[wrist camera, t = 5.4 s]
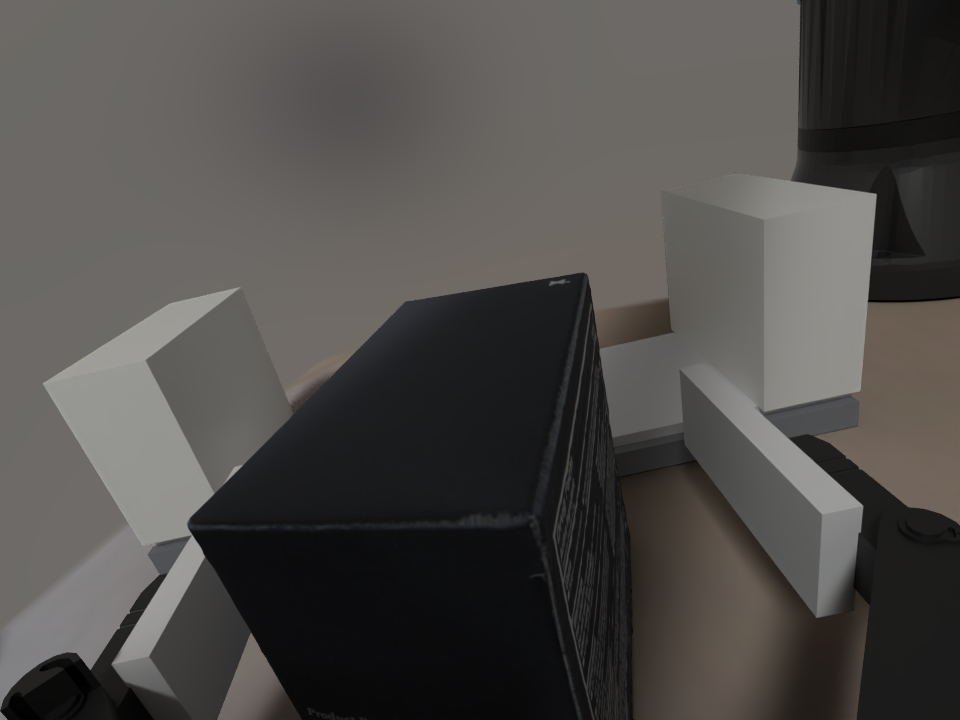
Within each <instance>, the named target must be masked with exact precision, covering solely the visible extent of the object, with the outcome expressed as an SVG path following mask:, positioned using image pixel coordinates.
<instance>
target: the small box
mask: <svg viewBox="0 0 960 720" xmlns="http://www.w3.org/2000/svg"><path fill="white" fill-rule="evenodd" d="M187 526H188V529H189V531H190V532H191V534H192V535H193V537H194V539H195V540H196V542H197V543H198V544H199V546H200V547H201V549H202V551H203V554H204V556H205V557H206V559H207V560H208V561H209V563H210V564H211V566H212V567H213V568H214V570H215V572H216V573H217V575H218V577H219V578H220V580H221V582H222V584H223V585H224V587H225V589H226V590H227V592H228V594H229V596H230V597H231V599H232V601H233V603H234V605H235V606H236V608H237V610H238V611H239V613H240V615H241V616H242V618H243V620H244V621H245V623H246V624H247V626H248V628H249V629H250V631H251V633H252V635H253V636H254V638H255V640H256V641H257V643H258V645H259V647H260V649H261V651H262V653H263V654H264V655H265V657H266V658H267V661H268V662H269V664H270V666H271V667H272V669H273V671H274V672H275V674H276V676H277V678H278V679H279V681H280V683H281V685H282V686H283V688H284V690H285V691H286V693H287V695H288V697H289V698H290V700H291V702H292V703H293V705H294V707H295V708H296V710H297V712H298V714H299V715H300V717H301V719H302V720H632V713H631V710H632V703H631V695H632V686H631V636H632V632H633V630H632V622H631V617H632V612H631V591H632V590H631V573H630V534H629V528H628V525H627V519H626V512H625V506H624V502H623V497H622V492H621V486H620V480H619V476H618V470H617V462H616V458H615V452H614V445H613V439H612V432H611V427H610V422H609V408H608V402H607V396H606V389H605V383H604V378H603V370H602V364H601V357H600V349H599V343H598V338H597V330H596V323H595V315H594V310H593V303H592V297H591V289H590V285H589V280H588V275H587V274H585V273H577V274H572V275H566V276H560V277H554V278H548V279H542V280H535V281H529V282H523V283H517V284H511V285H506V286H499V287H493V288H487V289H481V290H475V291H469V292H462V293H457V294H451V295H445V296H439V297H432V298H426V299H421V300H414V301H407V302H405V303H404V304H403V305H402V306H401V307H400V308H399V309H398V310H397V311H396V312H395V313H394V314H393V315H392V316H391V317H390V318H389V319H388V320H387V321H386V322H385V323H384V324H383V325H382V326H381V327H380V328H379V329H378V330H377V331H376V332H375V333H374V334H373V335H372V336H371V337H370V338H369V339H368V340H367V341H366V342H365V343H364V344H363V345H362V346H361V347H360V348H359V349H358V350H357V351H356V352H355V353H354V354H353V355H352V356H351V357H350V358H349V359H348V360H347V361H346V362H345V363H344V364H343V365H342V366H341V367H340V368H339V369H338V370H337V371H336V372H335V373H334V374H333V376H332V377H331V378H330V379H329V380H328V381H327V382H326V383H325V384H324V385H323V386H321V387H320V388H319V389H318V390H317V391H316V392H315V393H314V394H313V395H312V396H311V397H310V398H309V399H308V400H307V401H306V402H305V403H304V404H303V405H302V406H301V407H300V408H299V409H298V411H297V412H296V413H295V414H294V415H293V416H292V417H291V418H290V419H289V420H288V421H287V422H286V423H284V424H283V425H282V426H281V427H280V428H279V429H278V430H277V431H276V432H275V433H274V434H273V435H272V436H271V438H270V439H269V440H268V441H267V442H266V443H265V444H264V445H263V446H262V447H261V448H260V449H259V450H258V451H257V452H256V453H255V454H254V455H253V456H252V457H251V458H250V459H249V460H248V461H247V462H246V463H245V464H244V465H243V466H242V467H241V468H240V469H239V470H238V471H237V472H236V473H235V474H234V475H233V476H232V477H231V478H230V479H229V480H228V481H227V482H226V483H225V484H224V485H223V486H222V487H221V488H220V489H219V490H218V491H217V492H216V493H215V494H214V495H213V496H212V497H211V498H210V499H209V500H208V501H206V502H205V503H204V504H203V505H202V506H201V507H200V508H199V509H198V510H197V511H196V512H195V513H194V514H193V515H192V516H191V517H190V518H189V520H188V522H187Z"/></svg>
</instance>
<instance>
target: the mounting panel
mask: <svg viewBox="0 0 960 720" xmlns="http://www.w3.org/2000/svg"><path fill="white" fill-rule="evenodd" d="M600 357H601V364H602V370H603V378H604V383H605V389H606V396H607V402H608V408H609V422H610V427H611V432H612V439H613V445H614V452H615V458H616V462H617V470H618V476H619V477H620V476H625V475H630V474H634V473H639V472H644V471H648V470H653V469H658V468H662V467H667V466H672V465H677V464H681V463H686V462H691V461H695V460H696V459H695V457H694V456H693V455H692V454H691V452H690V451H689V450H688V448H687V447H686V446H685V442H684V428H683V415H682V401H681V387H680V373H679V368H684V367H688V366H693V365H697V364H702V363H705V364H706V365H707V366H708V367H709V368H711V369H712V370H713V371H714V372H715V373H716V374H717V375H718V376H719V377H721V378H722V379H723V380H724V381H725V382H726V383H727V384H728V385H729V386H731V387H732V388H733V389H734V390H735V391H736V392H737V393H738V394H739V395H741V396H742V397H743V398H744V399H745V400H746V401H747V402H748V403H749V404H751V405H752V406H753V407H754V408H755V409H756V410H757V411H758V412H760V413H761V414H762V415H763V416H764V417H765V418H766V419H767V420H768V421H770V422H771V423H772V424H773V425H774V426H775V427H776V428H777V429H778V430H780V431H781V432H782V433H783V434H784V435H785V436H786V437H787V438H791V437H795V436H800V435H805V434H809V435H811V436H812V435H817V434H822V433H826V432H831V431H836V430H841V429H845V428H850V427H855V426H858V414H859V401H858V400H856V399H855V398H853V397H852V396H851V393H849V394H845V395H840V396H835V397H831V398H826V399H821V400H817V401H812V402H808V403H803V404H798V405H794V406H789V407H784V408H780V409H775V410H770V411H766V412H764V411H763V410H761V409H760V408H759V407H758V406H757V405H756V404H755V403H754V402H752V401H751V400H750V399H749V398H748V397H747V396H746V395H744V394H743V393H742V392H741V391H740V390H739V389H738V388H737V387H735V386H734V385H733V384H732V383H731V382H730V381H729V380H728V379H726V378H725V377H724V376H723V375H722V374H721V373H720V372H719V371H717V370H716V369H715V368H714V367H713V366H712V365H711V364H710V363H708V362H707V361H706V360H705V359H704V358H703V357H702V356H701V355H699V354H698V353H697V352H696V351H695V350H694V349H693V348H692V347H690V346H689V345H688V344H687V343H686V342H685V341H684V340H683V339H681V338H680V337H679V336H678V335H677V334H676V333H675V332H673V333H669V334H664V335H660V336H655V337H651V338H646V339H642V340H637V341H633V342H628V343H624V344H619V345H615V346H610V347H606V348H601V349H600ZM191 536H192V535H190V536H186V537H181V538H176V539H172V540H167V541H163V542H158V543H153V548H152V549H151V551H150V552H149V554H148V556H149V557H150V559H151V560H152V562H153V564H154V565H155V567H156V569H157V570H158V572H159V573H160V575H161V574H166V573H169V571H170V570H171V568H172V566H173V565H174V563H175V562H176V560H177V558H178V557H179V555H180V554H181V552H182V550H183V549H184V547H185V546H186V544H187V542H188V541H189V539H190V538H191Z"/></svg>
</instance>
